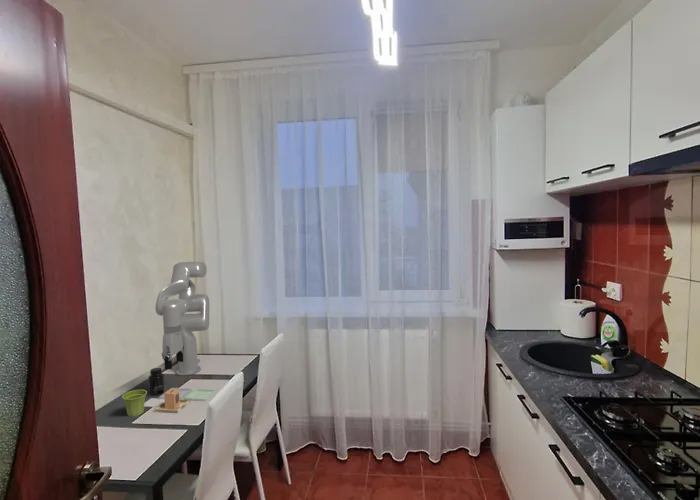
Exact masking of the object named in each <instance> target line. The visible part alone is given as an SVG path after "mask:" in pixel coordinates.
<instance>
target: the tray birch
mask: <svg viewBox="0 0 700 500" xmlns="http://www.w3.org/2000/svg"><path fill="white" fill-rule="evenodd" d="M190 403H191V401H190V400H183V399H182V400H180V406H178V407H177V408H176V409H175V410H174V409H165V401H164V402H163V403H162V404H160V405H159V406H158V407H155V408H154V410H153V412H154V413H160V414H161V413H163V414H178V413H179V412H181V411H182V410H183V409H184V408H186V407H187V405H189V404H190Z"/></svg>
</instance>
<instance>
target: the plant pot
mask: <svg viewBox="0 0 700 500" xmlns="http://www.w3.org/2000/svg"><path fill="white" fill-rule="evenodd" d="M147 395H148V391H147V390H145V389H134V390H131V391H128V392H125V393H124V394H122V396H121V398H122V400H123V402H124V405H125V410H126V414H127V416H129V417H136V416H139V415H142V414H143V413H144V412H145V406H144V403H145V402H146V397H147Z"/></svg>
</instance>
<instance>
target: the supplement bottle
mask: <svg viewBox="0 0 700 500" xmlns="http://www.w3.org/2000/svg"><path fill="white" fill-rule="evenodd" d="M149 372H150V375H148V379H147V380H148V381H147V382H148V395H149V396H151V397H156V396H158V397H159V396H161V395H163V394H164V393H165V392H166V391H165V375H164V374H163V372H162V367H154V368H151V369H150V371H149Z"/></svg>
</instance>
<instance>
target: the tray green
mask: <svg viewBox="0 0 700 500" xmlns="http://www.w3.org/2000/svg"><path fill="white" fill-rule="evenodd" d="M216 392H217V389H215V388H213V389H212V388H194V389H192V391H191V392H190V393H189V394H188V395H186V396H185V397H184V398H183V399H182V400H190V402H192V401H193V402H206V401H207V400H209V399H210V398H211V397H212V396H213V395H214V394H215V393H216Z"/></svg>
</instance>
